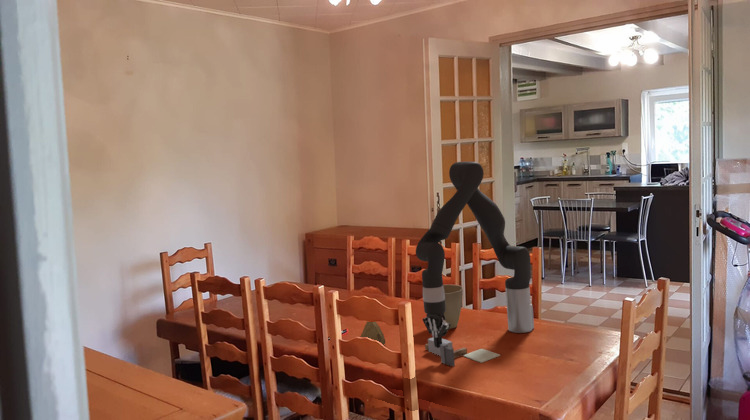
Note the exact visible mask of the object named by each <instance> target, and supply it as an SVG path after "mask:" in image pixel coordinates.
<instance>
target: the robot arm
mask: <svg viewBox="0 0 750 420" xmlns="http://www.w3.org/2000/svg"><path fill="white" fill-rule="evenodd" d="M448 173H449V174H448V176H449V180H450V182H451V183H452V185H453V187H454V188H455V189H456V192H454V194H453V196H451V198H449V200H447V201H446V203H445V204H444V205H442V207H441V208H440V209H439V210H438V212H437V213H436V215H435V217H434V219H433V221H432V224H431V225H430V227H429V229H427V231H426V232H425V233H424V234H423V236H422V237H421V238H420V239H419V241H418V242H417V244H416V247H415V257H416V258H417V259H418V260H419V261H421V262H427V268H425V269H424V270H422V272H421V280H422V281H421V283H422V302H423V312H424V313H425V314H426V316H425V318H422V321H423V324H424V326H425V327H426V330H427V332H428V334H429V335H431V336H432V338H433V337H434V345H435V347H437V348H439V347H440V344H442V339H443V337H444V336H447V333H448V331H449V330H450V329H449V328H450V326H451V325H450V323H448V324H447V322H446V321H445V316H444V312H445V311H446V304H445V293H444V288H443V285H444V280H443V269H444V263H445V260H446V259H445V258H446V257H445V256H446V254H445V253H446V252H445V249H444V246H442V244H441V243H440V242H441V241H444V240H447V239H448V237H450V234H451V232H452V230H453V229H454V226H455V224H456V222H457V220H458V218H459V216H460V215H461V213H462V211H463V210H464V208H465V207H466V205H467V207H468V208H469V209H470V210H471V213H472V214H473V216H474V218H475V219H476V221H477V223H478V224H479V226H480V228H481V229H482V231H483V233H484V235H485V236H486V237H487V239H488V241H489V243H490V245H491V246H492V248H493V251H494V254H495V256H496V258H497V260H498V263H499V264H500V266H501V267H502V268H505V269H506V270H513V271H514V274H513V276H512V277H508V278H506V279H505V281H504V285H505V286H504V287H505V300H506V313H507V314H506V315H507V326H508V327H507V330H508V331H509V332H512V333H514V334H515V333H517V334H522V333H529V332H532V331H533V329H535V322H534V308H533V307H534V306H533V304H532V303H531V302H532V301H531V289H530V282H531V275H532V274H531V273H532V272H531V255H530V254H531V253H530V250H529V249H528V248H527V247H525V246H517V245H511V244H510V243H509V242H508V240H507V239H506V237H505V228H506V220H505V217H504V215H503V213H502V211H501V209H500V208H499V206H498V205H497V203H495V201H493V200H492V199H491V198H490V197H489V196H487V195H486V194H485V193H483V192H482V191H481V190H480V189H479V186H480V185H481V183H482V181H483V179H484V168H483V167H482V165H481V164H480V163H479V162H477V161H456V162H454V163H453V164H451V166H450V167H449V172H448Z"/></svg>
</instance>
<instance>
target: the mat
mask: <svg viewBox="0 0 750 420" xmlns="http://www.w3.org/2000/svg"><path fill="white" fill-rule="evenodd" d="M500 356H501V354H499V353H496V352H493V351H491V350H487V349H484V348H480V349H477V350H473V351H471V352H469V353H468V352H467V354H465V355H463V356H462V357H464V358H467V359H469V360H472V361H475V362H477V363H479V364H480V363H484V362H487V361H489V360H492V359H495V358H498V357H500Z"/></svg>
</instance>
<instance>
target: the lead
mask: <svg viewBox="0 0 750 420" xmlns="http://www.w3.org/2000/svg"><path fill="white" fill-rule="evenodd" d="M443 343H445V344H448V347H450V348H453V349H454V347H453V341H451V340H448V339H446V338H442V344H443ZM427 344H428V348H429V350H428V352H429V353H430V352H432V353H431V354H433V353H434V354H433V355H436V354H437V355H436V356H438V355H439V356H438V357H441V354H440V347H439V348H437V347H435V345H434V337H433V336H432V337H429V338H427Z"/></svg>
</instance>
